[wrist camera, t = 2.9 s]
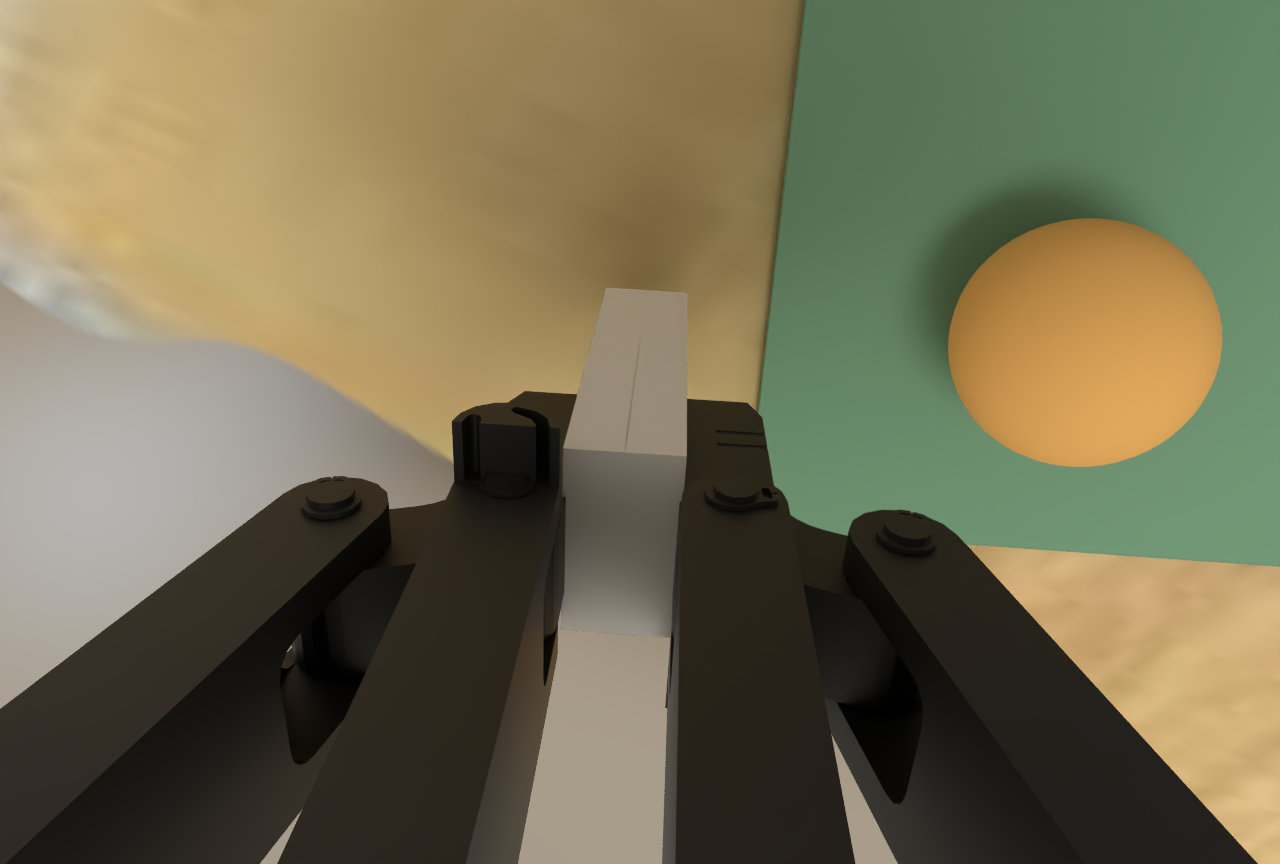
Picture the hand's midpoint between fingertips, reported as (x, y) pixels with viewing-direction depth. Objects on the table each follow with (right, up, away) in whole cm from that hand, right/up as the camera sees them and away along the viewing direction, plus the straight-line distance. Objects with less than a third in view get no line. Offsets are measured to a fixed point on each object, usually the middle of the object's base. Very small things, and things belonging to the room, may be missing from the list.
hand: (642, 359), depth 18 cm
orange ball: (+9, 0, +1) cm, 9 cm away
